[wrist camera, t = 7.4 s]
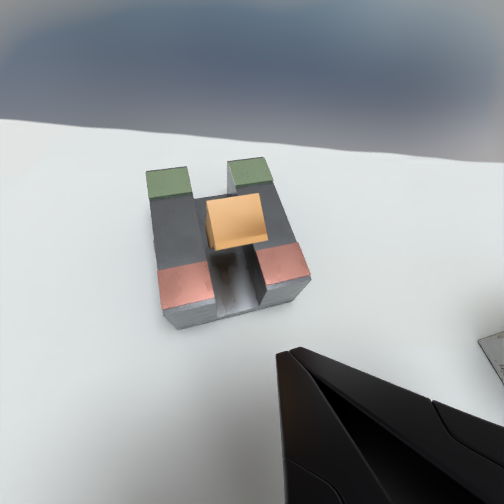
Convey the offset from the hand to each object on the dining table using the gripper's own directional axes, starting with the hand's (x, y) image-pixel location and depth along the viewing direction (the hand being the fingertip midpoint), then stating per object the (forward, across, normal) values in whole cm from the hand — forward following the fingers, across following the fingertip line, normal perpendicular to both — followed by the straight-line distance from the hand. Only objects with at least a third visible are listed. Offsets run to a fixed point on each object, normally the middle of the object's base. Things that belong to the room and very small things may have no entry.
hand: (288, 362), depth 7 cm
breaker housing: (+15, 0, -1) cm, 15 cm away
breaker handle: (+13, 0, +1) cm, 13 cm away
